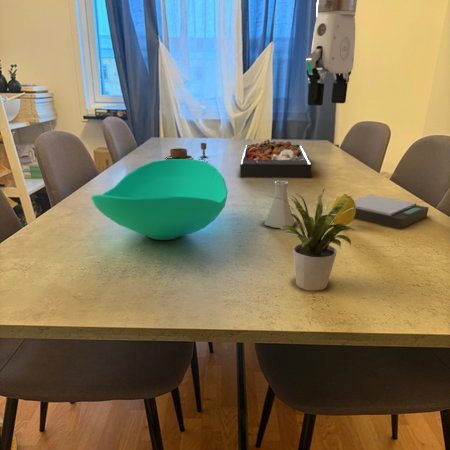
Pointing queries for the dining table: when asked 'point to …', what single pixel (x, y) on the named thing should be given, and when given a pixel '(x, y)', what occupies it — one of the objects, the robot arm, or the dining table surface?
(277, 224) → the flask
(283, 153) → the food platter
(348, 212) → the lemon
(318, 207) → the house plant
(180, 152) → the place setting
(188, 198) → the table top decor
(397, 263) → the dining table surface
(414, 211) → the scale
